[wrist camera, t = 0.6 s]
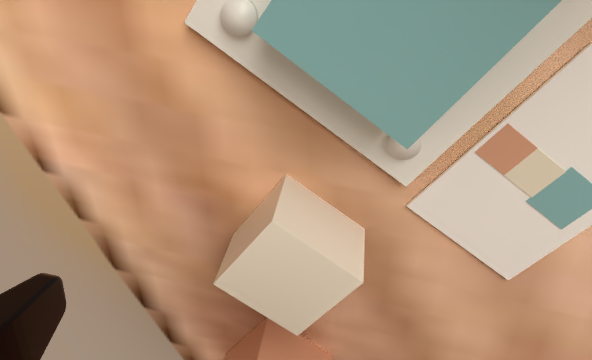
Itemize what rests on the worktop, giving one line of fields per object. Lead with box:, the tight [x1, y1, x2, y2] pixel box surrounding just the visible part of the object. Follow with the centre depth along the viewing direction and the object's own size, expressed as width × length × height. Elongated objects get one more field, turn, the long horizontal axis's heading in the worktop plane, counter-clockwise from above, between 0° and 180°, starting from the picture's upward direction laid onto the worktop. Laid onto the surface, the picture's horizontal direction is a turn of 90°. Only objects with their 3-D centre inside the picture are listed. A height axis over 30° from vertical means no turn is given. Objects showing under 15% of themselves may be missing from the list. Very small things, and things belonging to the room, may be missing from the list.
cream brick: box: [213, 174, 365, 336], centre depth 23 cm, size 5×5×4 cm
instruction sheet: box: [406, 42, 592, 280], centre depth 21 cm, size 7×10×1 cm
